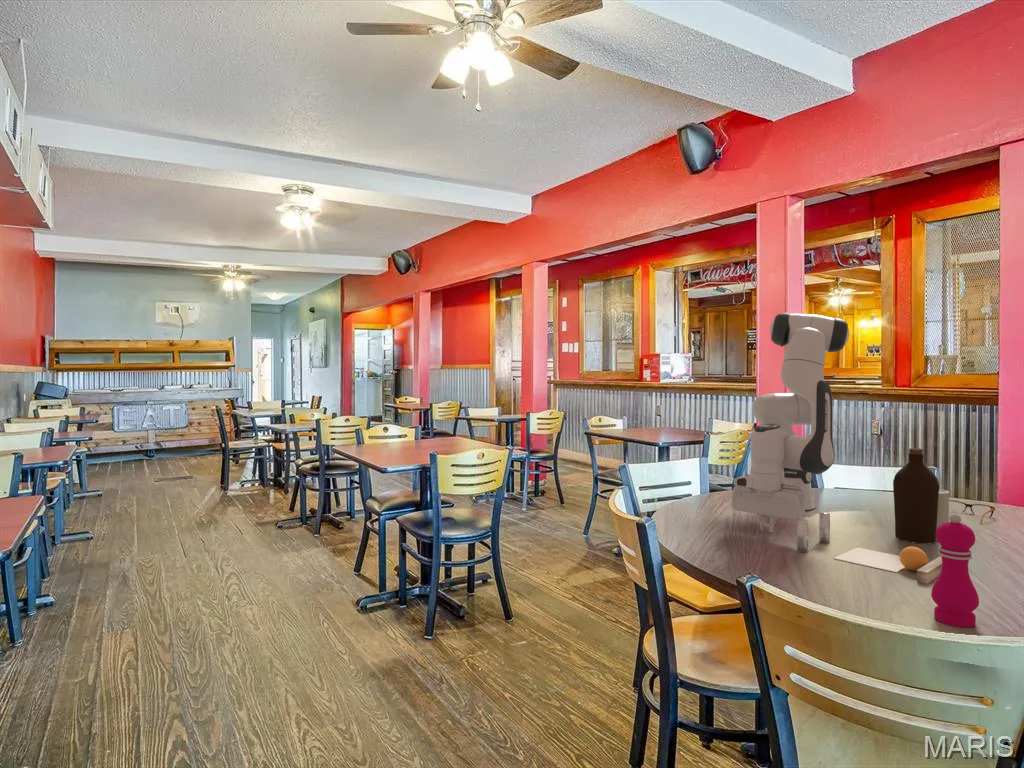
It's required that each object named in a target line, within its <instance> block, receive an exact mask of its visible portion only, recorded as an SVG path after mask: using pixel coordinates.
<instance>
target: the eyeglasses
mask: <svg viewBox="0 0 1024 768" xmlns="http://www.w3.org/2000/svg"><path fill="white" fill-rule="evenodd" d="M949 502H956V503H960V504H963V505H965V507H964V510H963V511H962V512H964V513H965V512H966V510H967V509H968V508H969V509H970V511H971V513H972V514H973V515H975V512H974V511H973V506H982V507H989V508H990V509H989V510H987V511H986V512H984V513H983V514H982V516H981V520H980V522H979V525H982V524H983V519H984V517H985V515H986V514H989V513H991V514H990V515H989V516H988V518H992V516H993V514H994V511H996V506H995V507H994V506H992V505H987V504H980V503H975V504H974V503H973V504H970V503H965V502H962V501H957V500H951V499H949Z"/></svg>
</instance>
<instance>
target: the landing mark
mask: <svg viewBox="0 0 1024 768" xmlns="http://www.w3.org/2000/svg"><path fill="white" fill-rule="evenodd" d="M833 559H834V560H836V561H842V562H847V563H850V564H856V565H860V566H864V567H869V568H874V569H877V568H878V570H882V569H883V570H882V571H886V570H887V572H891V571H892V573H895V572H896V573H895V574H898V573H899V572H901V571H903V570H905V569H906V568H905V567H904V566H903V565H902V563H901V561H900V555H897V554H892V553H886V552H882V551H877V550H872V549H867V548H862V547H855V548H853V549H852V548H851V550H847V551H846V552H844V553H841V554H840V555H837V556H835V557H833ZM902 569H903V570H902ZM900 570H901V571H900Z"/></svg>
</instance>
